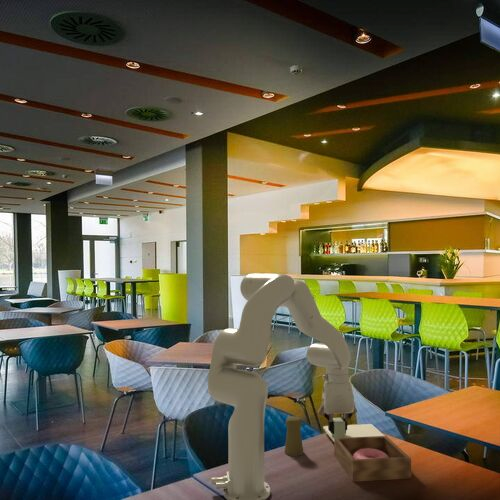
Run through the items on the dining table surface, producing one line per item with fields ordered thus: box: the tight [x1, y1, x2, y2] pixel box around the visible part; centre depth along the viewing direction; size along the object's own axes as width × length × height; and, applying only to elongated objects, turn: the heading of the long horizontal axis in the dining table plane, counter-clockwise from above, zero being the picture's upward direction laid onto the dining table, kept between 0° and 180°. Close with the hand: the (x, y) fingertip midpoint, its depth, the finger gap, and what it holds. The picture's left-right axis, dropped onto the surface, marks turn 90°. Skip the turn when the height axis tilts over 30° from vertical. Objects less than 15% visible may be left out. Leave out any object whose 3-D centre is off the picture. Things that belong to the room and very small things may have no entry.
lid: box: [323, 417, 385, 442], centre depth 153 cm, size 18×18×6 cm
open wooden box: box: [333, 435, 412, 483], centre depth 134 cm, size 17×17×6 cm
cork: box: [284, 415, 304, 457], centre depth 144 cm, size 6×6×11 cm
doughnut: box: [353, 448, 389, 460], centre depth 134 cm, size 11×11×4 cm
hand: (337, 432), depth 152 cm, fingers closed on lid, 3 cm apart
